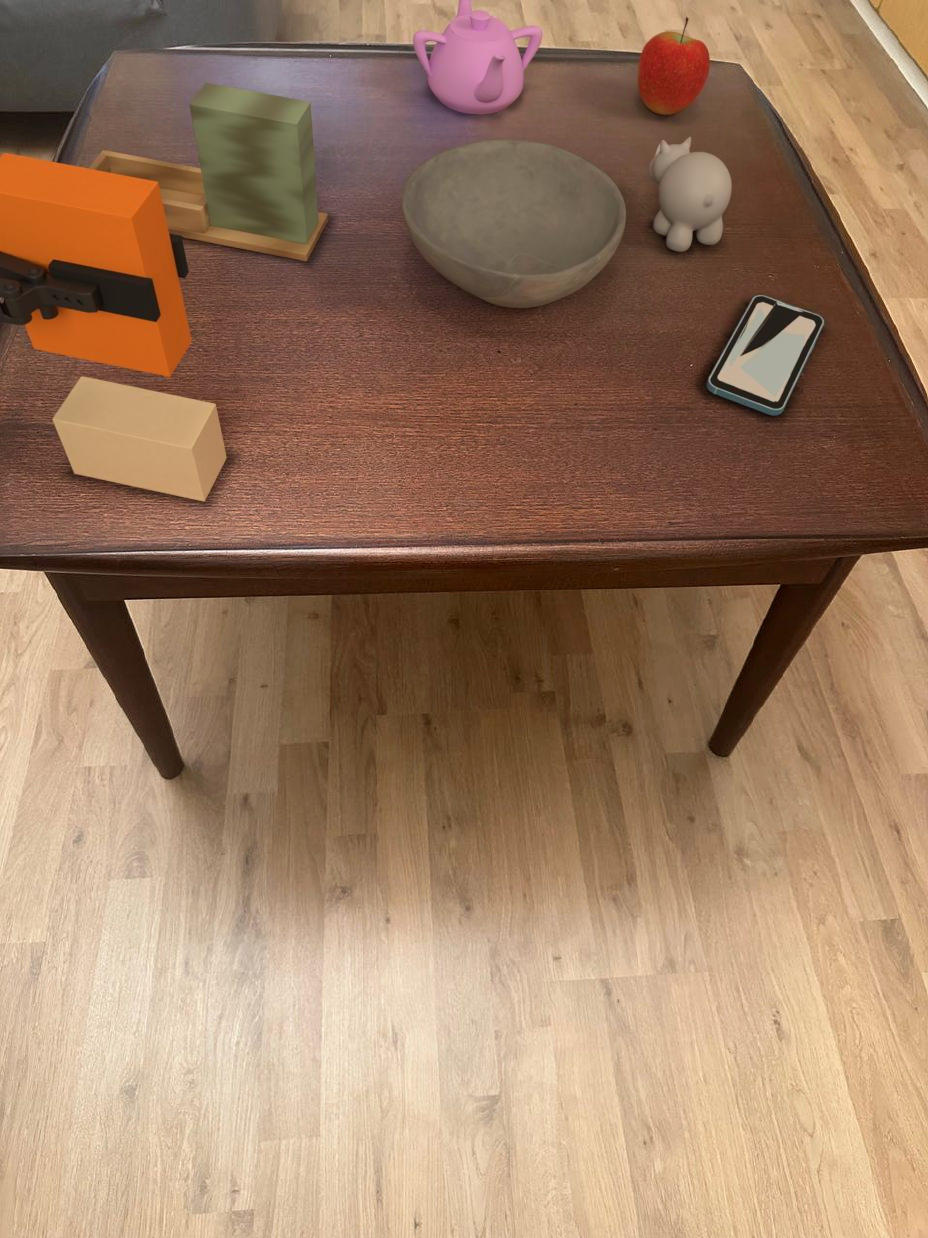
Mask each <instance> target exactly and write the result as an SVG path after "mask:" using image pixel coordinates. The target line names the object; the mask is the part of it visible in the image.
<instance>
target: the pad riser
mask: <svg viewBox="0 0 928 1238" xmlns="http://www.w3.org/2000/svg"><path fill="white" fill-rule="evenodd" d="M52 422H53V425H54V427H55V429H56V433H57V435H58V437H59V439H60V442H61V444H62V447H63V449H64V452H65V454H66V456H67V459H68V461H69V464H70V467H71V470H72V472H73V474H74V475H79V476H83V477H86V478H87V477H88V478H93V479H97V480H101V481H106V482H110V483H117V484H121V485H125V486H130V487H135V488H138V489H139V488H140V489H143V490H149V491H152V492H158V493H163V494H167V495H171V496H177V497H181V498H186V499H191V500H195V501H199V502H205V501H206V500H207V498H208V495H209V494H210V492H211V490H212V488H213V486H214V484H215V482H216V480H217V478H218V477H219V474H220V472H221V470H222V468H223V466H224V464H225V463H226V460H227V452H226V448H225V443H224V438H223V432H222V429H221V423H220V418H219V414H218V408H217V404H216V403H214V402H211V401H209V402H208V401H205V400H200V399H195V398H191V397H185V396H180V395H176V394H171V393H166V392H161V391H156V390H152V389H148V388H147V389H146V388H141V387H137V386H133V385H127V384H123V383H118V382H112V381H108V380H104V379H99V378H95V377H94V378H93V377H88V376H85V375H84V376H83V375H81V376H80V378H79V379H78V380H77V382H76V383H75V384H74V386H73V388H72V389H71V391H70V392H69V393H68V395H67V397H66V398H65V399H64V401H63V403H62V404H61V405H60V407H59V408H58V409H57V412H56V413H55V414H54V416H53V418H52Z"/></svg>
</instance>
